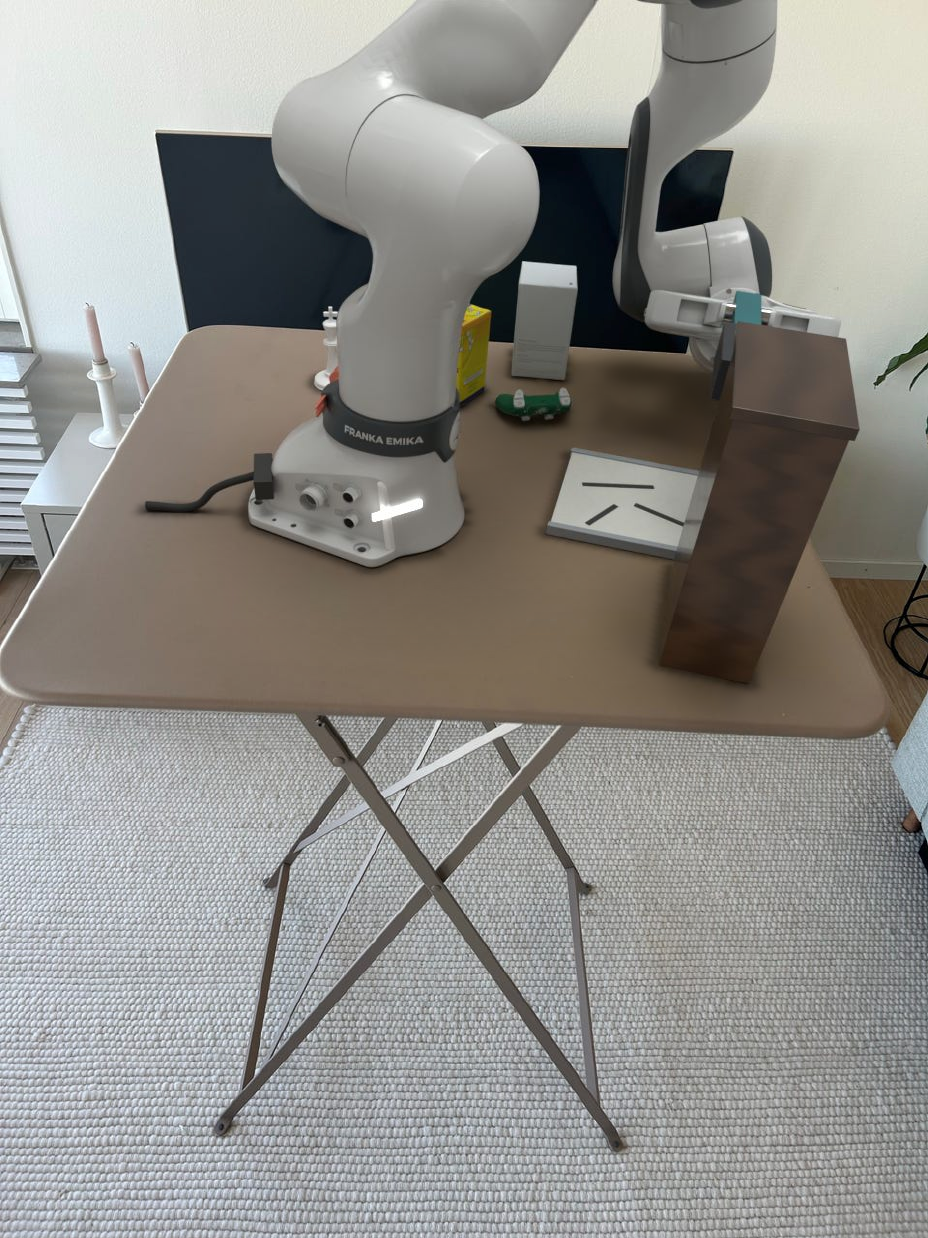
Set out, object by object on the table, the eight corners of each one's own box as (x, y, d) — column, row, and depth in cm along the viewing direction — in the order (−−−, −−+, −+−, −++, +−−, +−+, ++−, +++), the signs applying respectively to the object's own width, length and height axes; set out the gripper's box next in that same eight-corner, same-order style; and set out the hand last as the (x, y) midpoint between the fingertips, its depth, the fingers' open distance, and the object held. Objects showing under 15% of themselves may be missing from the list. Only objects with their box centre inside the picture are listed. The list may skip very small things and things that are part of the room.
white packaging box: (565, 356, 122) (579, 264, 113) (564, 382, 116) (578, 287, 108) (512, 350, 122) (521, 259, 113) (509, 376, 117) (518, 282, 108)
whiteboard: (545, 534, 92) (547, 525, 91) (570, 455, 103) (571, 446, 103) (723, 569, 89) (726, 560, 89) (728, 485, 101) (731, 476, 100)
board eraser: (710, 399, 80) (721, 359, 78) (717, 314, 94) (727, 277, 91) (765, 409, 80) (779, 368, 77) (765, 321, 93) (776, 284, 91)
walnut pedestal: (655, 666, 79) (732, 406, 61) (668, 566, 89) (737, 320, 72) (752, 687, 78) (860, 428, 60) (754, 584, 88) (846, 338, 70)
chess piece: (314, 373, 114) (309, 298, 107) (352, 373, 115) (350, 298, 108) (314, 392, 111) (309, 316, 104) (353, 392, 111) (351, 316, 104)
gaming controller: (495, 427, 110) (506, 414, 105) (492, 396, 111) (503, 383, 105) (566, 423, 112) (580, 411, 106) (563, 393, 112) (577, 379, 106)
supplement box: (420, 393, 112) (422, 310, 104) (447, 376, 116) (451, 294, 108) (458, 409, 110) (463, 325, 102) (485, 391, 113) (492, 308, 106)
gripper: (649, 287, 103) (651, 265, 89) (829, 315, 100) (859, 297, 86) (637, 342, 104) (637, 329, 91) (814, 372, 101) (841, 363, 88)
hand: (747, 314), depth 89 cm, fingers closed on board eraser, 2 cm apart
